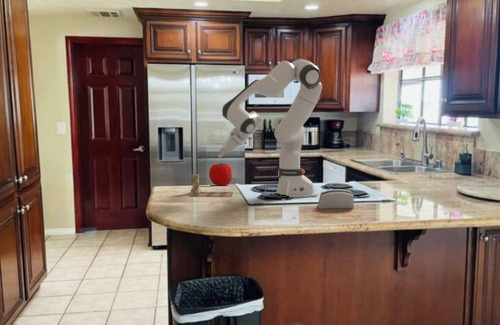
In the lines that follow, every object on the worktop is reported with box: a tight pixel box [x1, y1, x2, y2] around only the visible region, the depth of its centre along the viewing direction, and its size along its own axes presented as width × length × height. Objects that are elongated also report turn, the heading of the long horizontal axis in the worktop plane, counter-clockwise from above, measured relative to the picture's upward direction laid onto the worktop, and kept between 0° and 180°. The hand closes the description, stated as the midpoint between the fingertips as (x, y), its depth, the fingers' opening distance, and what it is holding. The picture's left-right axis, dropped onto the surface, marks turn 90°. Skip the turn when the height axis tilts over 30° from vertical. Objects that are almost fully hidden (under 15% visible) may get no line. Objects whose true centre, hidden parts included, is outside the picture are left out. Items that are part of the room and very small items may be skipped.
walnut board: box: [188, 191, 234, 198], centre depth 224 cm, size 22×13×2 cm, turn 88°
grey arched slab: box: [317, 188, 355, 209], centre depth 200 cm, size 17×5×10 cm, turn 90°
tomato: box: [208, 162, 233, 187], centre depth 256 cm, size 16×14×14 cm
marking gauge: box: [190, 173, 202, 195], centre depth 226 cm, size 4×6×10 cm
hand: (218, 155), depth 225 cm, fingers open, 8 cm apart
